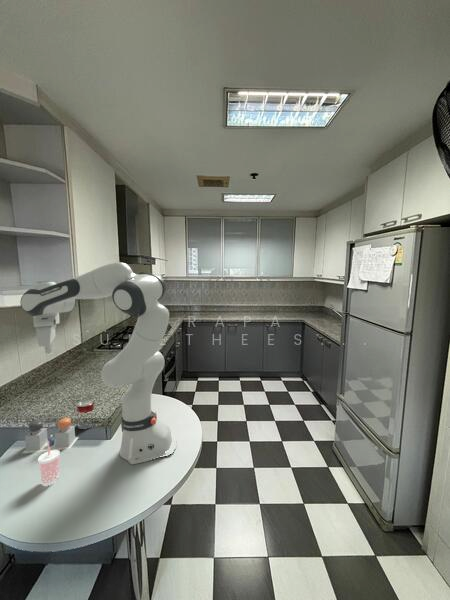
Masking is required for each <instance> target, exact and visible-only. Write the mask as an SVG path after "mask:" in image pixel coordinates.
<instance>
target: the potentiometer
mask: <svg viewBox="0 0 450 600" xmlns="http://www.w3.org/2000/svg"><path fill="white" fill-rule="evenodd" d="M47 440H48V441H49V447H50V446H53V445H55V436H54V437H53V434H50V435H49V438H47Z"/></svg>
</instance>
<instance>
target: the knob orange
mask: <svg viewBox="0 0 450 600" xmlns="http://www.w3.org/2000/svg"><path fill="white" fill-rule="evenodd" d="M69 426H72V418H71V417H63V418H60V419H59V420H58V421H57V429H58V430H59V429H61V432H66V431H68V430H69Z"/></svg>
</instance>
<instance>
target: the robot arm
mask: <svg viewBox="0 0 450 600" xmlns="http://www.w3.org/2000/svg"><path fill="white" fill-rule="evenodd" d="M166 284H167V283H166V282H165V280H164V279H163V278H162V276H160V275H157V274H154V273H147V272H138V273H134V271H133V270H132V268H131V267H130V266H129V265H128V264H127V263H125V262H121V261H116V262H112V263H107V264H105V265H101V266H99V267H97V268H95V269H93V270H90V271H88V272H85V273H83V274H81V275H78V276H75V277H72V278H70V279H68V280H65V281H61V282H58V283H56V282H55V281H51V280H50V281H49V280H48V281H47V280H46V281H38V282H36V283H34V285H33V287H32V288H29V289H28V290H26V291H25V292H24V293H23V294H22V296H21V298H20V300H19V301H20V306H21V308H22V310H23V311H24V312H25V313H27V314H28V315H29V316H32V318H33V327H34V328H35V331H36V332H35V333H36V339H37V344H38V346H39V347H44V352H45V354H51V352H52V351H53V350H52V345H53V341H54V340H55V338H56V335H57V334H56V328H57V325H59V324H60V314H61V313H69V312H72V311H73V310H74V309H75V307H77V300H99V299H105V298H108V297H112V302H113V303H114V305H115V307H116V308H117V309H118V310H119V311H121V312H122V313H124V314H126V315H128V316H129V317H132V318H137V321H136V322H135V325H134V328H133V331H132V333H131V336H130V339H129V340H128V342H127V343H126V345H125V346H124V347H123V348H122V349H121V351H120V352H119V353H117V355H116V356H114V358H112V359H110V360H108V361H107V362H106V363H104V365H103V366H102V369H101V373H100V375H101V376H100V377H101V380H102V382H103V384H104V385H105V386H106V387H108V388H109V389H114V388H115V389H116V388H121V387H123V388H124V387H126V386H129V385H130V387H129V388H128V390H127V391H126V392H125V393H124V394H123V396H122V399H121V409H122V410H121V411H122V414H121V415H122V417H121V420H120V425H121V426H120V427H121V433H122V438H121V444H120V448H119V456H120V457H121V458H122V459H124V460H126V461H128V463H129V464H130V465H136V464H140V463H141V464H142V463H145V462H149V460H150V461H152V460H151V459H154V458H157V457H160V456H163V455H166V454H169V453H165V451H167V450H169V448H170V446H171V443H172V437H171V433H172V432H171V429H170V427H169V425H168V424H166V423H164V422H162V421H160V420H159V419H157V417H158V416H157V410H155V412H154V411H152V392H153V388H154V386H155V382H156V380H157V379H158V376H159V375H160V374H161V373H162V372H163V370H164V368H165V358H164V355H163V354H162V353H161V352H160V351H159V348H160V347H161V344H162V342H163V339H164V337H165V334H166V331H167V328H168V325H169V322H170V311H169V310H168V308H167V307H166V306H165V305H163V304H162V303H160V302H159V301H160V300H161V299H162V298H163V297H164V295H165V293H166V290H167V286H166ZM154 460H155V459H154Z"/></svg>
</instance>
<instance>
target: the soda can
mask: <svg viewBox="0 0 450 600" xmlns="http://www.w3.org/2000/svg"><path fill="white" fill-rule="evenodd" d="M93 409H94V410H95V401H94V400H92V399H86V400H83V401H80V402H78V403H77V404H76V414H77V413H81V414H82V413H87V412H90V411H92V410H93Z"/></svg>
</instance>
